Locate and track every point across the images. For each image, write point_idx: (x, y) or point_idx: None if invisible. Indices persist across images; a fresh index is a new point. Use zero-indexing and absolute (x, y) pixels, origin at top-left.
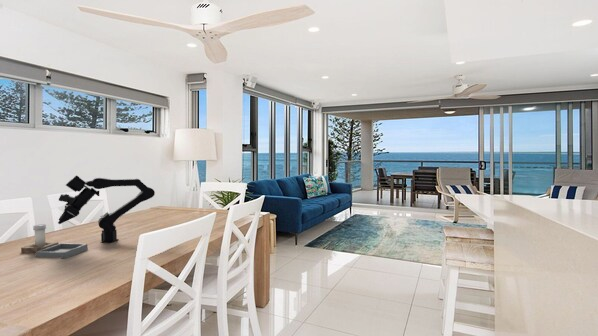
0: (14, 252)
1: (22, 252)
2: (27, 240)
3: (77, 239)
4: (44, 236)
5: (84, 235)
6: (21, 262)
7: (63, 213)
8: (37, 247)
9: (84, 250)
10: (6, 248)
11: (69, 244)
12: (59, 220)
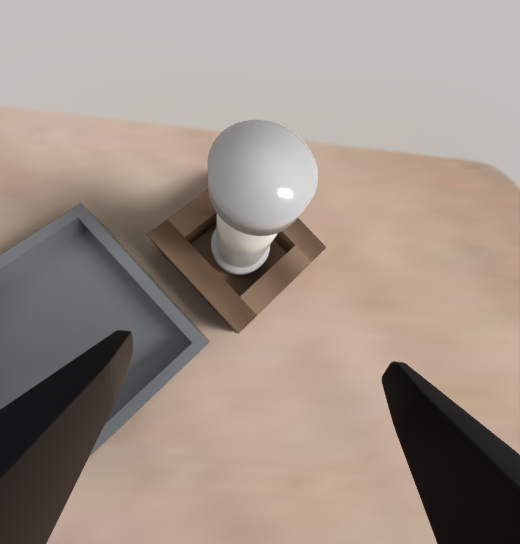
0: None
1: None
2: (503, 231)
3: (398, 446)
4: (229, 243)
5: None
6: (75, 165)
7: (494, 477)
8: (184, 222)
9: None
10: (398, 154)
11: (141, 391)
12: (87, 356)
